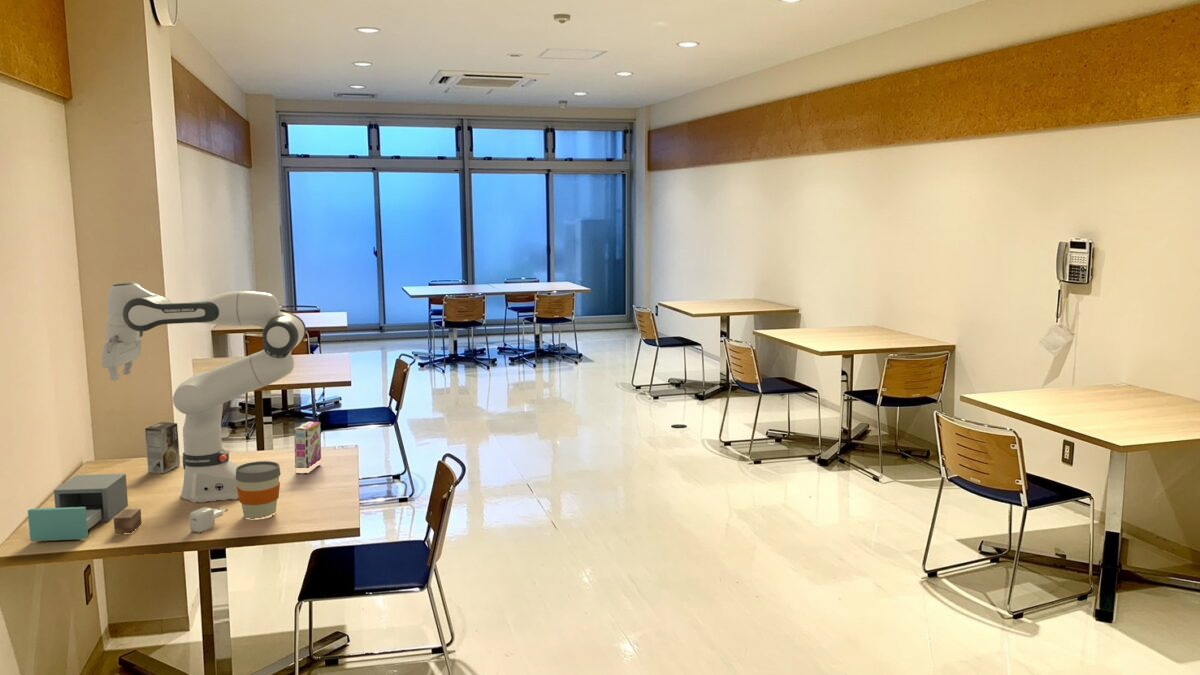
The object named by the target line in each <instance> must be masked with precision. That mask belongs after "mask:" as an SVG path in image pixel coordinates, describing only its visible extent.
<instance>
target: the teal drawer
mask: <svg viewBox="0 0 1200 675" xmlns="http://www.w3.org/2000/svg"><path fill="white" fill-rule="evenodd" d="M27 516H28V517H27V518H28V528H29V540H30V542H42V541H64V540H65V541H69V540H86V539H88V538H89V534H88V531H89V529H91V528H92V527H94V526H95V525H96V524H97V523H99V522H98V521H99V520H100V519H102V517H101V509H98V510H86V507H68V508H55V507H47V508H46V507H45V508H43V507H42V508H29V509H27Z"/></svg>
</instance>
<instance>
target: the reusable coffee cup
mask: <svg viewBox="0 0 1200 675" xmlns="http://www.w3.org/2000/svg"><path fill="white" fill-rule="evenodd" d="M280 468H281V467H280V464H279V463H278V462H275V461H269V460H266V461H265V460H264V461H262V460H261V461H253V462H247V463H244V464H241V465H238V467H237V468H236V480H237V483H238V486H237V491H238V496H239V499H238V500H239V503H240V504H241V509H242V513H243V514H242V515H243V518H244V517H245V518H250V519H255V518H262V517H266V516H269V515H271V514H273V513H275V512H276V513H277V503H278V499H279V497H280V487H281V482H280V476H281V469H280ZM245 518H244V519H245Z"/></svg>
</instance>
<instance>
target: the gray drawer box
mask: <svg viewBox="0 0 1200 675" xmlns="http://www.w3.org/2000/svg"><path fill="white" fill-rule="evenodd" d="M127 486H128V485H127V473H104V474H103V473H102V474H76V475H74V476H73V477H72V478H70V479H68V480H67V481H65V482H64V483H62V484H61V485H60V486H58V487H56V488H55V489H53V496H54V508H68V507H86V510H98V509H101V517H102V519H100V520H99V521H98V522H97V523H109V522H110V521H111V520H114V517H116V516H117V515H118V514H119V513H120V512H121V511H123V510H124V509H126V508H127V507H128V506H129V501H128V500H129V499H128V487H127Z"/></svg>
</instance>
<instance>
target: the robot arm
mask: <svg viewBox="0 0 1200 675" xmlns="http://www.w3.org/2000/svg"><path fill="white" fill-rule="evenodd" d="M106 305H107V306H106V311H107V320H106V325H105V326H106V329H105V339H106V340H107V342H106V343H105V344H104V345H103V348H102V357H101V366H102V368H103V369H104V368H105V369H108V372H109V375H110V377H109V378H110V381H112V382H113V381H115V382H117V381H118V380H119V376H120V375H119V374H118V370H119V367H120V366H124V367H123V369H122V374H123V375H124V376H128V375H130V374H132V367H133V364H134V361H135V360H137V359H138V358H140V355H141V350H142V341H143V339H142V338H144V332H147V331H150V330H151V329H153V328H154V329H155V328H156V327H159V326H162V325H172V324H173V325H175V324H195V323H197V324H198V323H199V324H207V325H208V324H210V325H219V326H231V327H239V326H240V327H244V326H245V327H246V326H255V327H260V328H261V329H263V330H262V342H263V349H262V350H260V351H257V352H255V353H251V354H249V355H246V356H244V357H241V358H239V359H236V360H234V361H230V362H228V363H226V364H223V365H221V366H219V367H217V368H214V369H211V370H209V371H202V372H201V371H200V372H198V373H196V374H194V375H193V376H191V377H189V378H188V379H186V380H184V381H182V382H181V383H180V384H179V385H178V386H177V388H175V391H174V393H173V397H172V402H173V405H174V407H175V408H176V410H177V411H179V413H182V414H185V419H184V424H183V426H182V437H183V438H182V440H183V452H182V467H183V470H184V472H183V473H184V474H183V484H182V490H181V492H180V497H181V498H182V499H184V500H188V501H191V503H193V502H194V503H195V504H197V503H196V502H199V503H207V501H210V502H217V501H216V500H221V501H228V500H227V499H232V500H236V499H235V498H239V496H238V491H237V486H238V483H237V480H236V468H237V467H238V466H239V465H238V464H236V463H235V462H233V461H232V460H230V456H229V455H230V450H229V449H228V450H225V449H224V448H223V447H222V446H223V441H222V418H223V417H222V416H223V409H224V404H225V403H227V402H229V401H231V400H234V399H236V398H239V397H240V396H243V395H246V394H248V393H252V392H254V391H256V390H259V389H261V388H264V387H266V386H269V385H272V384H273V383H276V382H278V381H280V380H281V379H284V377H286V376H288V375H290V374H291V373H292V372H293V370H294V367H295V362H294V361H295V360H294V357H293V356H292V351H293V350H294V349H295V348H296V347H297V346H298V345H299V344H300V343H301V342H303V340H304V338H305V335H306V331H307V330H306V324H305V321H303V319H301V318H300V317H299V316H298V315H296V314H294V313H292V312H289V311H287V310H285V309H283V308H282V309H280V305H279V301H278V299H277V297H276V296H275V295H274V294H272V293H269V292H263V291H253V290H251V291H250V290H245V291H244V290H237V291H233V290H232V291H228V292H223V293H219V294H214V295H210V296H209V297H205V298H203V299H200V300H196V301H195V300H194V301H190V302H171V301H170V299H169V298H167V297H166V296H162V295H159V294H156V293H153V292H151V291H149V290H147V289H145V288H143V287H142V286H141V285H140V284H139V283H138V282H132V281H131V282H121V283H120V282H119V283H115V284H113V285H112V286H110V288H109V290H108V296H107V304H106Z"/></svg>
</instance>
